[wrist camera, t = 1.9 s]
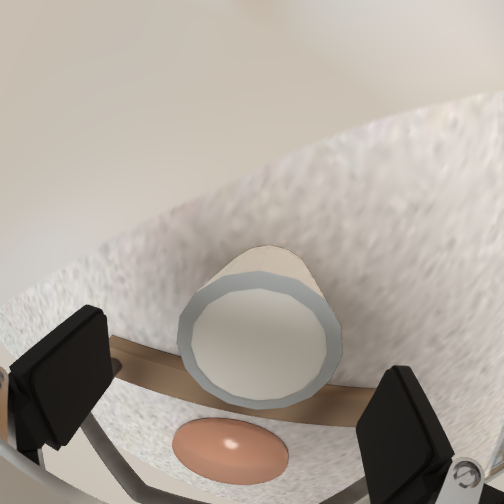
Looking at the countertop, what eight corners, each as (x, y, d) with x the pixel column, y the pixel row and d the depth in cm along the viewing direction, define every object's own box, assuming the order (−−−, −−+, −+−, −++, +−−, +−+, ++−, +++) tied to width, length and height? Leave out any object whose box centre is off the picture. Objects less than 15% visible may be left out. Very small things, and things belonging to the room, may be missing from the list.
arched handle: (387, 389, 19) (429, 509, 7) (372, 415, 19) (401, 530, 8) (112, 335, 20) (21, 428, 9) (115, 364, 21) (38, 456, 10)
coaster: (309, 462, 22) (309, 468, 21) (224, 485, 24) (223, 490, 23) (238, 402, 20) (236, 409, 19) (152, 434, 23) (150, 439, 22)
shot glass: (265, 354, 19) (255, 429, 12) (191, 285, 18) (145, 340, 11) (345, 292, 17) (375, 355, 10) (270, 210, 16) (260, 231, 10)
